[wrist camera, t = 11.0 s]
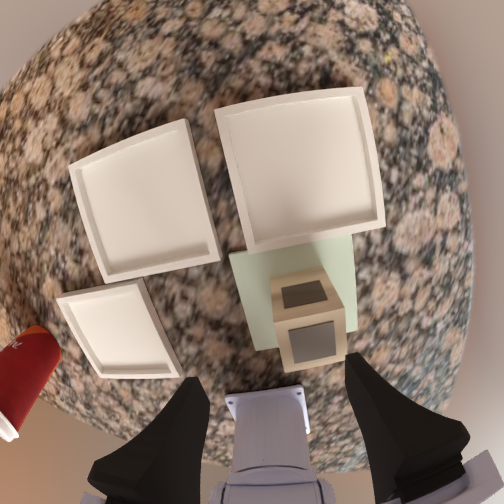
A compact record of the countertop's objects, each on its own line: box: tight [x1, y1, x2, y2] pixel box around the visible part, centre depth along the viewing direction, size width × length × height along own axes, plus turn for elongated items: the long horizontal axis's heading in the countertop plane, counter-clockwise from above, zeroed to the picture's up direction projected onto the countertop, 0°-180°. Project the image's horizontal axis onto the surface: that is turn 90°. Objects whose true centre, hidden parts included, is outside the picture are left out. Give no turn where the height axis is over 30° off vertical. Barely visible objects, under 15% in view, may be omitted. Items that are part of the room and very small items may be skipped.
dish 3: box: [214, 87, 386, 255], centre depth 17 cm, size 10×10×1 cm
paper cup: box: [0, 325, 62, 442], centre depth 18 cm, size 8×8×14 cm
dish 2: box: [56, 277, 182, 379], centre depth 22 cm, size 10×10×1 cm
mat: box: [229, 234, 358, 351], centre depth 21 cm, size 9×9×1 cm
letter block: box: [270, 266, 347, 373], centre depth 18 cm, size 4×4×6 cm
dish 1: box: [68, 118, 223, 284], centre depth 18 cm, size 10×10×1 cm
